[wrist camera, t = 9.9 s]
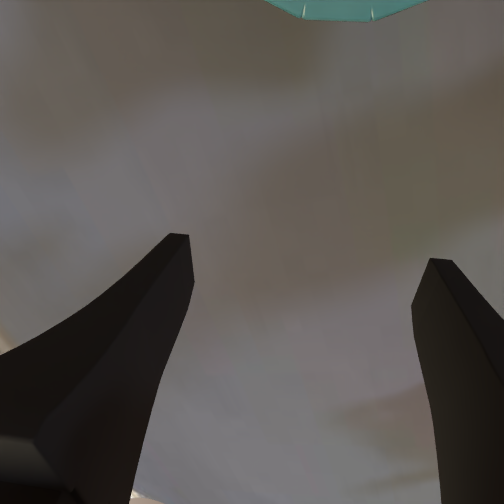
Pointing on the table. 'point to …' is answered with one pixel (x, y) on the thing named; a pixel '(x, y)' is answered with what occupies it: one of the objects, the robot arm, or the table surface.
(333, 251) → the table surface
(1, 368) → the robot arm
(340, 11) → the cup
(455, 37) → the table surface
